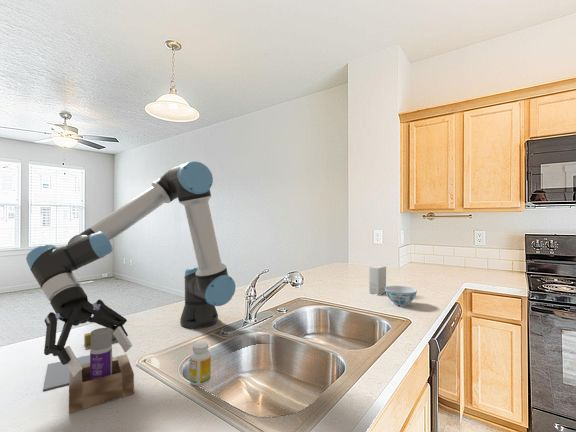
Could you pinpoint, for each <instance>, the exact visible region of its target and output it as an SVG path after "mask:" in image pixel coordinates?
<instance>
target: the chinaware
mask: <svg viewBox="0 0 576 432" xmlns="http://www.w3.org/2000/svg"><path fill="white" fill-rule="evenodd" d="M385 292H386V293H385V294H386V297H387V298H388V299H389V300H390V302H393V303H394V304H395V305H394V304H393V305H394V306H396V305H400V306H399V307H407V306H406V305H408V306H409V304H410V303H412V302H413V301H414V299H415V298H416V296H417V292H418V291H417V289H416V288H413V287H410V286H406V285H405V286H404V285H389V286H386V287H385Z"/></svg>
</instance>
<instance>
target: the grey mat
mask: <svg viewBox="0 0 576 432" xmlns="http://www.w3.org/2000/svg"><path fill="white" fill-rule="evenodd" d="M76 358H77V360H78V362H79V363H80V365H82V364H86V363H90V354H88V355H85V356H80V357H76ZM46 366H47V367H46V372H45V376H44V377H45V378H44V382H43V388H42V391H43V392H44V391H48V390H51V389H56V388H60V387H64V386H69V377H70V370H69V368H68V366H67V364H65V365H63V364H62V363H61V361H57V362H52V363H48V364H47V365H46Z"/></svg>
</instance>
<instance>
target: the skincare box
mask: <svg viewBox="0 0 576 432" xmlns="http://www.w3.org/2000/svg"><path fill="white" fill-rule="evenodd" d="M368 273H369V277H368V278H369V282H368V284H369V286H368V288H369V290H368V291H369V294H370V293H372V295H374V294H377V295H376V296H381V295H383V294H382V293H384V294H386V293H385V287H387V266H384V265H379V264H377V265H372V266H369V271H368ZM380 294H381V295H380Z"/></svg>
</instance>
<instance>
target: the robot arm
mask: <svg viewBox="0 0 576 432" xmlns="http://www.w3.org/2000/svg"><path fill="white" fill-rule="evenodd" d="M213 183H214V177H213V173H212V172H211V170H210V168H209V167H208V166H207V165H206V164H204V163H202V162H200V161H196V160H195V161H194V160H193V161H185V162H183V163H181V164H179V165H176V166H173V167H171V168H170V169H169V170H168V171H166V172H165V173H164V174H163V175H161V176H160V177H159V178H157V179H155V180H154V181H153V182H152V183H151V187H149V188H148V189H146V190H144V191H143V192H141V193H140V194H139V195H137V196H135V197H134V198H132V199H131V200H129V201H128V202H126V203H125V204H123V205H121V206H120V207H118V208H117V209H116V210H114V211H113V212H111V213H109V214H108V215H107V216H105V217H103V218H102V219H100V220H98V221H97V222H96V223H94V224H93V225H91V226H90V227H88V228H86V229H85V230H84V231H82V232H80V233H79V234H76V235H74V236H73V237H71V238H70V239H69V241H68V242H67V244H66V245H63V246H61V247H57V246H56V245H53V244H48V243H47V244H45V245H43V244H42V245H39V246H37V247H34V248H32V249H31V250H30V251H29V252H28V253H27V254H26V257H25V258H26V259H25V260H26V263H27V265H28V267H29V269H30V272H31V274H32V276H33V277H34V278H35V281H37V283H38V286H39V287H40V288H41V290H42V292H43V294H44V295H45V297H46V298H47V301H49V302H50V303H49V304H50V306H51V307H52V309H53V311H54V312H53V311H52V312H49V313H48V314H47V316H46V317H45V318H44V323H45V325H46V330H45V338H44V339H45V340H44V349H43V350H44V351H43V352H44V353H43V354H44V355H45V356H50V355H51V354H52V355H51V356H53V357H58V359H59V362H61V363H62V364H63V365H65V364H67V366H68V368H69V370H70V372H71V373H72V375H73V377H75V376H77V375H78V374H79V372H80V371H81V370H82V367H81V365H80V363H79V362H78V360H77V358H78V357H77V356H76V355H75V353H74V351H73V350H72V348H71V346H70V345H67V346H66V344H67V340H68V338H69V336H70V333H71V330H72V327H73V326H74V327H76V326H79V325H80V324H82V325H83V324H87V322H88V323H95V324H96V325H97V324H98V325H99V326H101V327H103V328H111V329H112V330H114V332H113V334H114V336H115V337H116V339H117V340H116V341H117V343H118V344H119V345H120V347H121V348H122V350H123V352H124V353H127V352H129V350H130V349H131V348H132V347H133V344H132V342H131V341H130V339H129V337H128V336H129V335H128V331H126V330H125V327H124V325H125V324H126V322H127V321H128V320H127V318H126V317H124V316H122V315H121V314H119V313H118V312H117V311H115V310H114V309H112V308H110V307H109V306H107V305H106V303H104V301H103V300H101V299H98V300H96V302H94V303H91V302H90V301H89V299H88V296H87V293H86V292H85V291H84V289H83V287H82V286H81V283H80V282H79V281H78V279H77V277H76V276H75V274H74V273H73V271H76V270H78V269H80V268H82V267H85V266H87V265H89V264H91V263H93V262H95V261H97V260H100V259H103V258H104V257H106V256H107V255H109V254H111V253H113V250H114V249H113V245H112V243H111V241H113V240H114V239H115V238H117V237H118V236H120V235H121V234H123V233H124V232H125V231H127V230H129V228H131V227H133V226H135V225H136V223H138V222H139V221H141V220H143V219H144V218H145V217H147V216H148V215H150V214H151V213H152V212H153V211H155V210H157V209H158V208H159V207H161V206H162V205H163V204H170V203H171V202H173V201H174V200H176V199H177V200H178V203H179V204H181V205H182V206H184V210H185V215H186V219H187V223H188V226H189V227H188V228H189V233H190V237H191V242H192V245H193V251H194V254H195V260H196V262H197V266H194V267H188V268H186V269H185V271H184V306H183V309H182V312H181V315H180V319H179V320H180V322H179V323H180V326H182V327H183V328H187V329H200V328H206V327H210V326H214V325H215V324H217V323H218V322H219V314H218V311H217V309H216V307H221V306H224V305H226V304H227V303H229V302H230V301H231V300H232V299H233V296H234V295H235V292H236V283H235V280H234V278H232V277H231V276H230V275H229V273H228V268H227V265H226V264H224V263H223V262H222V260H221V255H220V251H219V245H218V241H217V236H216V232H215V228H214V227H215V226H214V223H213V222H214V221H213V217H212V214H211V209H210V204H209V201H210V199H211V198H212V194H211V188H212V186H213ZM59 320H60V321H61V322H64V324H63V327H62V329H61V332H60V335H59V338H58V341H57V340H56V339H57V329H58V328H57V327H58V326H57V325H58V321H59ZM123 327H124V328H123ZM56 341H57V342H56Z"/></svg>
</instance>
